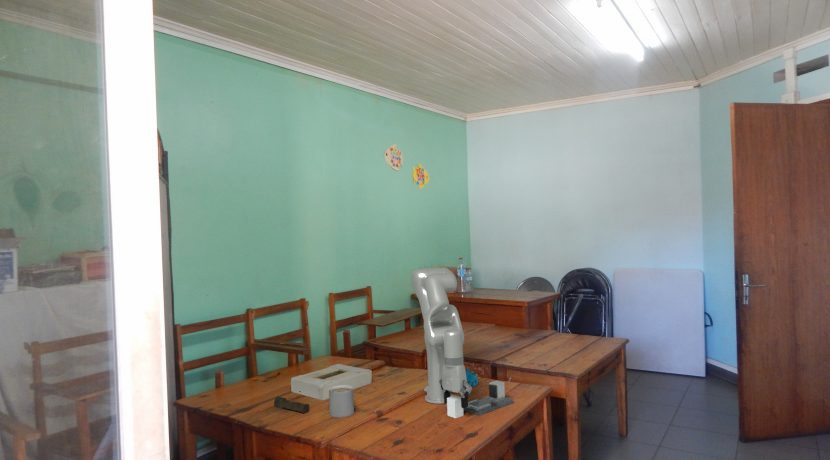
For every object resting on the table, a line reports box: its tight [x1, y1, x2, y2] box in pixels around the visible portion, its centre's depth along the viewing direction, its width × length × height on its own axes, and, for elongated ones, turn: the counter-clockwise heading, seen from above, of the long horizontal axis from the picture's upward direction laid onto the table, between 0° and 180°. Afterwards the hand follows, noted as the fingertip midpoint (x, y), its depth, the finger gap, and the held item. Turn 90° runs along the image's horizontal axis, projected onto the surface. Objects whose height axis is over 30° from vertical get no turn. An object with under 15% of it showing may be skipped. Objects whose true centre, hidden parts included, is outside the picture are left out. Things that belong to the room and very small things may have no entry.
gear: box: [465, 367, 479, 388], centre depth 248 cm, size 11×6×10 cm
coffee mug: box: [328, 385, 355, 418], centre depth 216 cm, size 13×10×10 cm
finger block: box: [446, 395, 465, 419], centre depth 207 cm, size 4×5×7 cm
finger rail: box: [464, 380, 514, 416], centre depth 216 cm, size 10×21×8 cm, turn 130°
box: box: [290, 363, 373, 401], centre depth 251 cm, size 23×8×32 cm
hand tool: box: [273, 396, 310, 415], centre depth 221 cm, size 19×4×5 cm, turn 56°
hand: (456, 404), depth 206 cm, fingers open, 9 cm apart
